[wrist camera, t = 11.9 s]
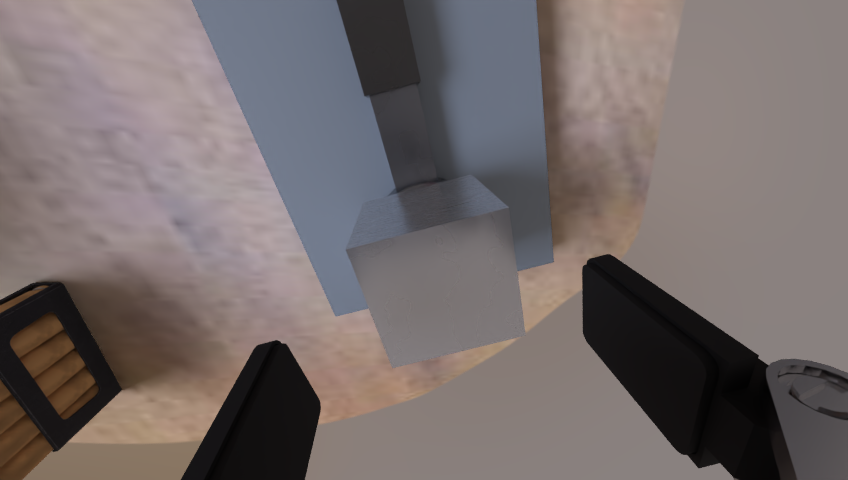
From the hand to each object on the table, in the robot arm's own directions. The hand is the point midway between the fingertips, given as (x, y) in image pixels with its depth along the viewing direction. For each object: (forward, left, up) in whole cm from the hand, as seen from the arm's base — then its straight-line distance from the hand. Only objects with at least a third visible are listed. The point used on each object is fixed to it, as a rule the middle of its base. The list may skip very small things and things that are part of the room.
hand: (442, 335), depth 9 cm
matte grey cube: (0, 0, -9) cm, 9 cm away
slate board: (-5, 0, -13) cm, 13 cm away
